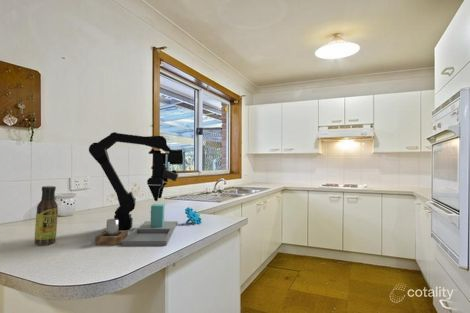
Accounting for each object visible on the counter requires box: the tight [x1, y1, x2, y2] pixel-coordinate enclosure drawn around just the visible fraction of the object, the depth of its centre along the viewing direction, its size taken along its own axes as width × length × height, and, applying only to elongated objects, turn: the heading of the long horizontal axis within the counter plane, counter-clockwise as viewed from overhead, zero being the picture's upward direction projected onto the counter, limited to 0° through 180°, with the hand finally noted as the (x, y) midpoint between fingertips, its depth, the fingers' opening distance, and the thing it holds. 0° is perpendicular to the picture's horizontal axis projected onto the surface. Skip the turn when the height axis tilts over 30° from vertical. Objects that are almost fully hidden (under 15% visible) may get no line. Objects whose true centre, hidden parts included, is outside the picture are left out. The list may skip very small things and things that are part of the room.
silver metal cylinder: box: [105, 218, 119, 236], centre depth 100 cm, size 4×4×8 cm
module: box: [150, 203, 165, 227], centre depth 123 cm, size 5×5×9 cm
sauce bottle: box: [34, 185, 59, 246], centre depth 97 cm, size 6×6×20 cm
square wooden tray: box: [94, 230, 129, 246], centre depth 100 cm, size 8×8×3 cm
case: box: [121, 220, 179, 247], centre depth 114 cm, size 15×36×2 cm, turn 6°
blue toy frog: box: [184, 207, 202, 225], centre depth 134 cm, size 11×6×10 cm
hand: (158, 199), depth 123 cm, fingers open, 9 cm apart
